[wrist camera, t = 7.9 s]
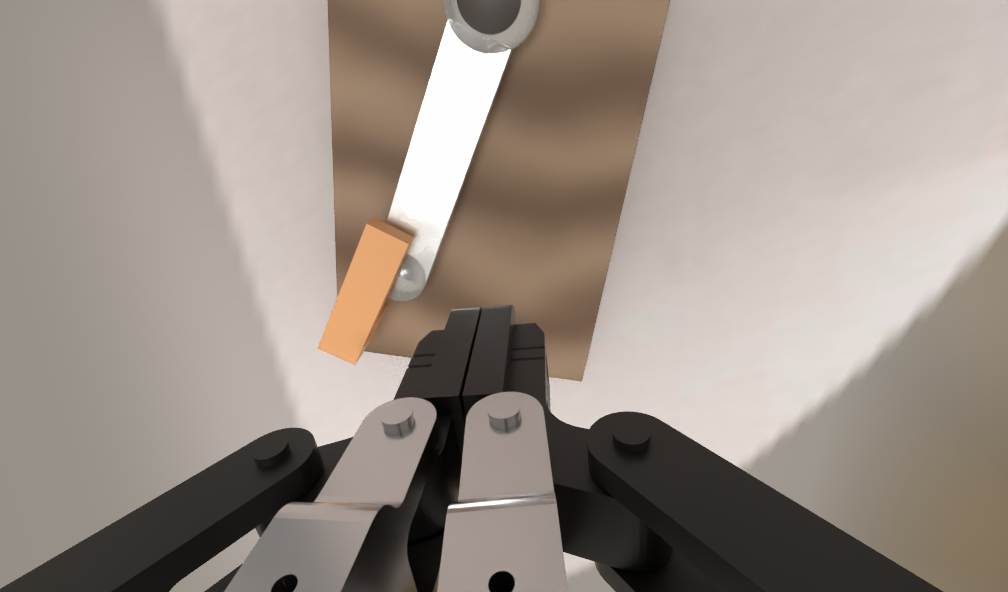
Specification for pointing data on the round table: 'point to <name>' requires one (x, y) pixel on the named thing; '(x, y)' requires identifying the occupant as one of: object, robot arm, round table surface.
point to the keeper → (365, 291)
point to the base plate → (498, 158)
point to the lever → (449, 137)
